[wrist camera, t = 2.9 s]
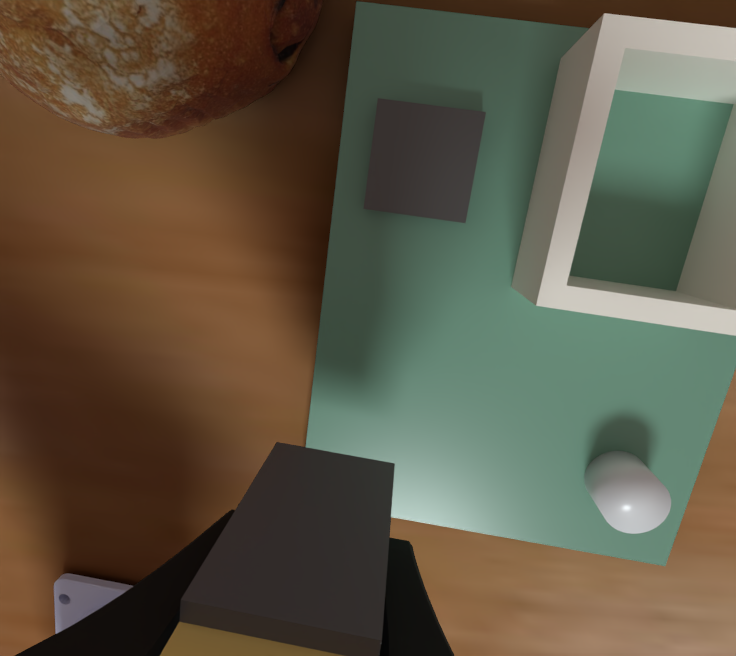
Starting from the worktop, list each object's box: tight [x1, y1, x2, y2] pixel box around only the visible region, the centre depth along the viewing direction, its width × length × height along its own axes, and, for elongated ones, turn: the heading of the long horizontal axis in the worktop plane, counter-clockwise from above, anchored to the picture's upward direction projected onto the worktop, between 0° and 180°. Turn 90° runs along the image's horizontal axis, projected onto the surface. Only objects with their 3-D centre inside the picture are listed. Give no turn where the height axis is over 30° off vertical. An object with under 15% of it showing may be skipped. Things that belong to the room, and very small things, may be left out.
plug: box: [160, 442, 395, 656], centre depth 9 cm, size 4×3×6 cm
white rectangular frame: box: [511, 13, 736, 336], centre depth 12 cm, size 6×5×3 cm
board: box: [306, 1, 736, 566], centre depth 14 cm, size 16×13×2 cm
